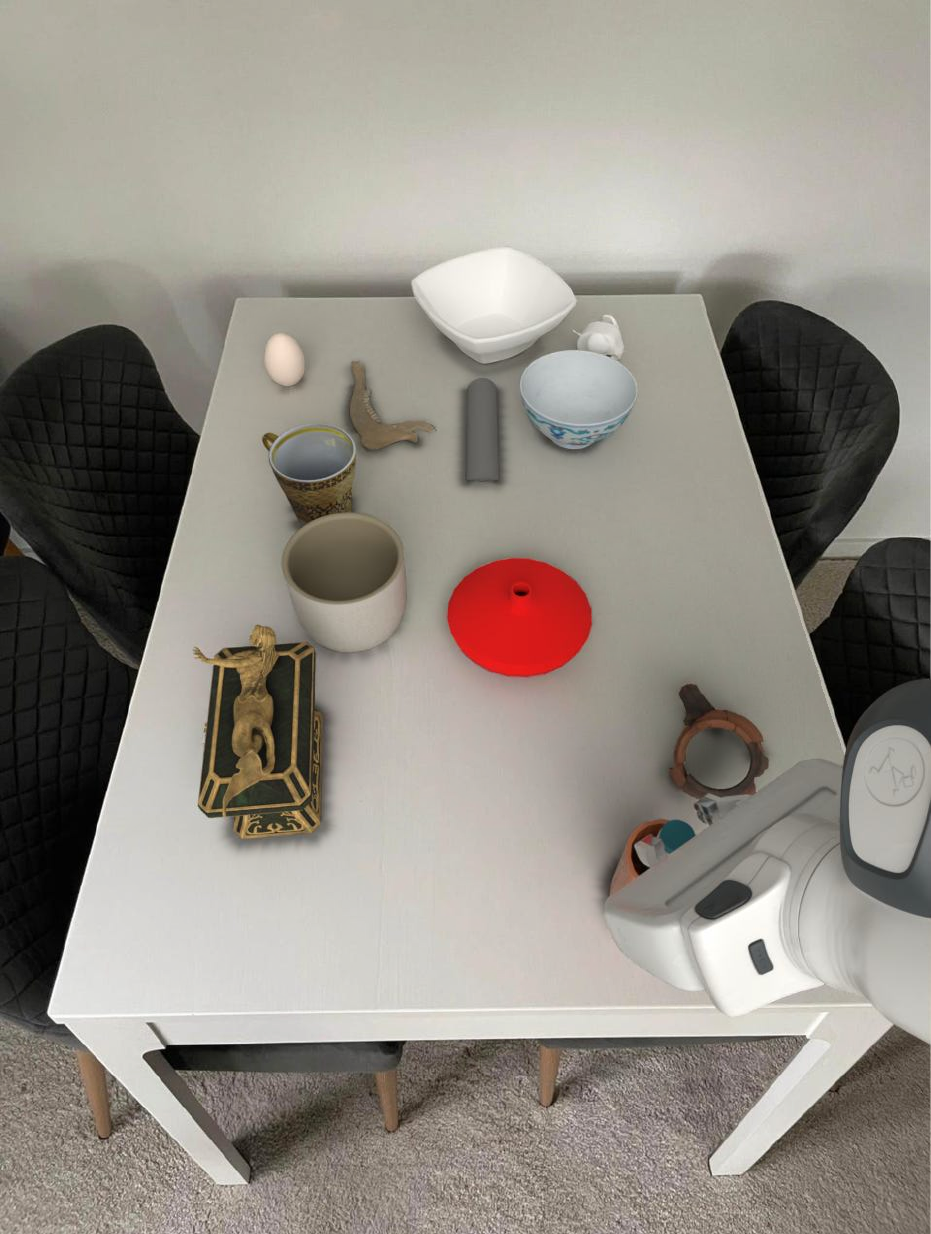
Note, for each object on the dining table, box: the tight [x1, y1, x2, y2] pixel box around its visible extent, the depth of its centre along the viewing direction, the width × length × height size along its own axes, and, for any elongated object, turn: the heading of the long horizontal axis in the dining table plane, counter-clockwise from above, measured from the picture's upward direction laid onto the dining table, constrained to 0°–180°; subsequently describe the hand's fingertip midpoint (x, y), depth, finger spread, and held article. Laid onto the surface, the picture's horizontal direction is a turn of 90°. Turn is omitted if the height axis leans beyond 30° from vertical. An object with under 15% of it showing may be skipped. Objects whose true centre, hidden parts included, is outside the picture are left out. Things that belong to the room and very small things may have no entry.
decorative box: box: [192, 623, 323, 840], centre depth 72 cm, size 20×10×20 cm, turn 5°
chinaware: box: [519, 349, 639, 450], centre depth 108 cm, size 15×15×8 cm
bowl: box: [410, 246, 578, 364], centre depth 119 cm, size 21×21×9 cm
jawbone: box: [349, 360, 437, 450], centre depth 113 cm, size 9×20×2 cm, turn 37°
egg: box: [263, 332, 306, 387], centre depth 114 cm, size 6×6×8 cm
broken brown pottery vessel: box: [668, 683, 770, 800], centre depth 80 cm, size 12×10×8 cm
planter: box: [281, 511, 408, 653], centre depth 88 cm, size 12×12×11 cm
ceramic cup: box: [261, 422, 357, 526], centre depth 99 cm, size 13×10×10 cm
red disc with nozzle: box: [446, 557, 593, 678], centre depth 88 cm, size 16×16×7 cm
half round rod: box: [465, 377, 500, 482], centre depth 110 cm, size 4×20×2 cm, turn 179°
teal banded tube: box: [639, 819, 696, 876], centre depth 67 cm, size 3×3×14 cm
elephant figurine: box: [572, 314, 626, 361], centre depth 118 cm, size 7×8×6 cm
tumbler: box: [609, 818, 697, 897], centre depth 70 cm, size 6×6×10 cm
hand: (673, 826), depth 62 cm, fingers open, 4 cm apart
